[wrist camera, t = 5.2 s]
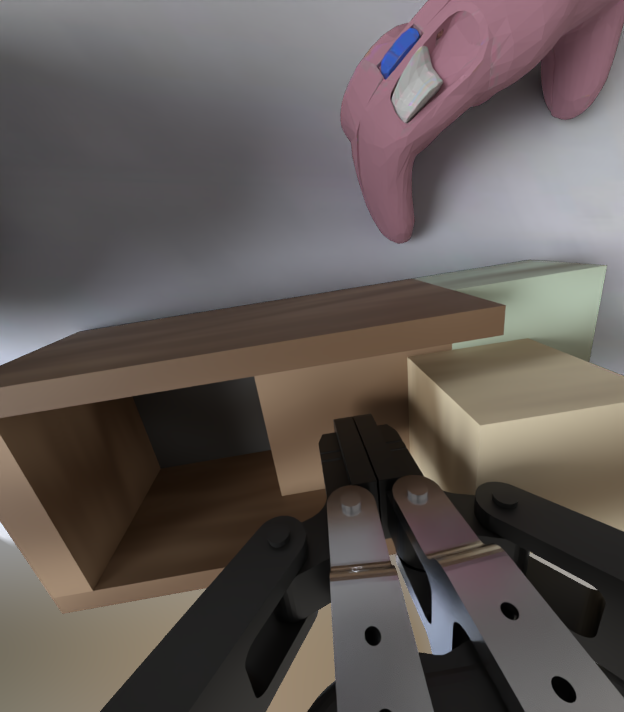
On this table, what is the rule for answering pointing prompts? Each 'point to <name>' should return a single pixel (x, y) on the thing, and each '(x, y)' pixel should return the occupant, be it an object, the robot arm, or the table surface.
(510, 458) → the maple block
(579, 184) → the table surface
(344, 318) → the channel
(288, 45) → the table surface
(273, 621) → the robot arm
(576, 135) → the table surface
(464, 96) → the video game controller
